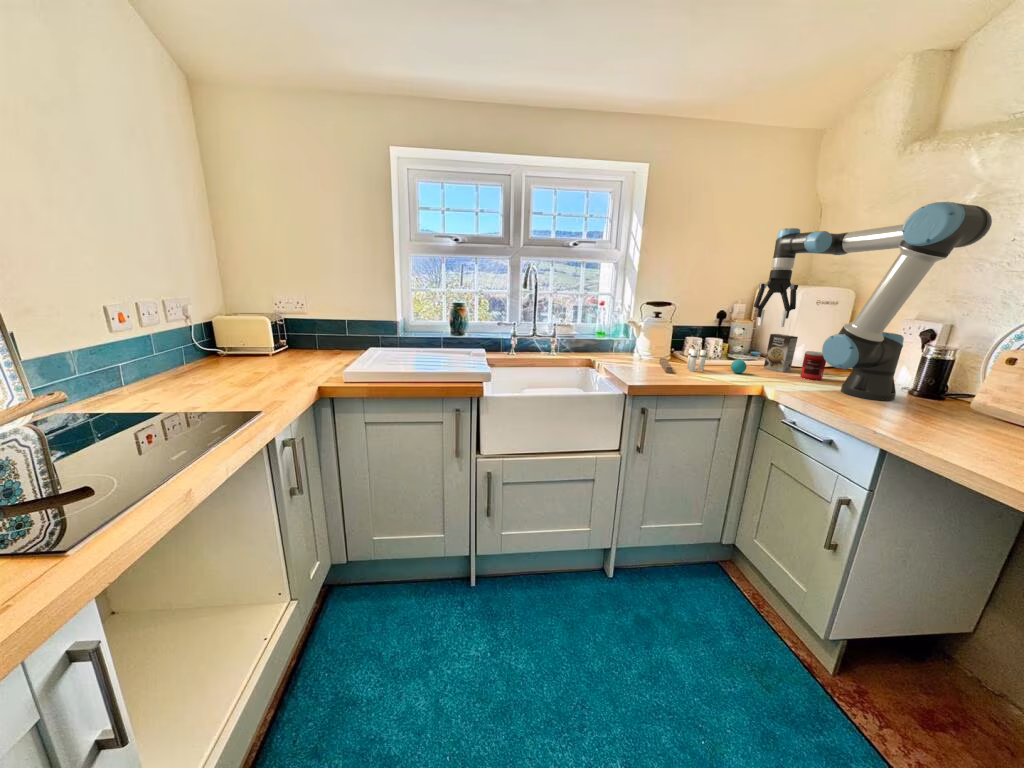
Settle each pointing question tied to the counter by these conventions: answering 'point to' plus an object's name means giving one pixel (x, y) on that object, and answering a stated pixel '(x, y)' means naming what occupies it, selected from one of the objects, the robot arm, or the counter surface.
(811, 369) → the canned food
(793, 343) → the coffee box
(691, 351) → the back pin far
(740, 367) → the ball
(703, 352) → the front pin
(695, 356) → the back pin near
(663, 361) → the rail
